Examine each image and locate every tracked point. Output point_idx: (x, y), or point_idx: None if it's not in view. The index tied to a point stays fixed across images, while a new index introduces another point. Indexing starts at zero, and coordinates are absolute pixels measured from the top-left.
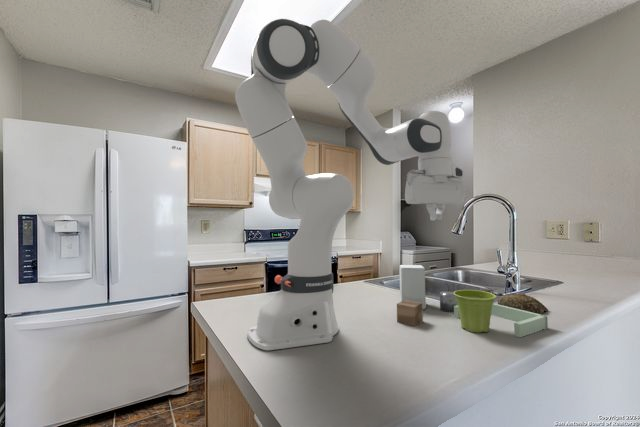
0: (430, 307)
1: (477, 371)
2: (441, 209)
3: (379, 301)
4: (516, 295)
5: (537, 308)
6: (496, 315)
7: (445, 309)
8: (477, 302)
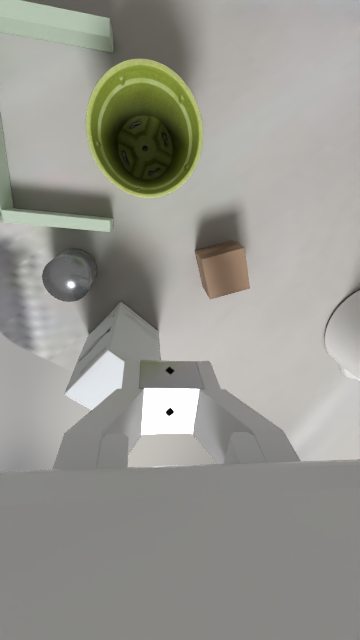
0: (100, 303)
1: (346, 16)
2: (114, 430)
3: None
4: None
5: None
6: (7, 166)
7: (95, 265)
8: (185, 99)
